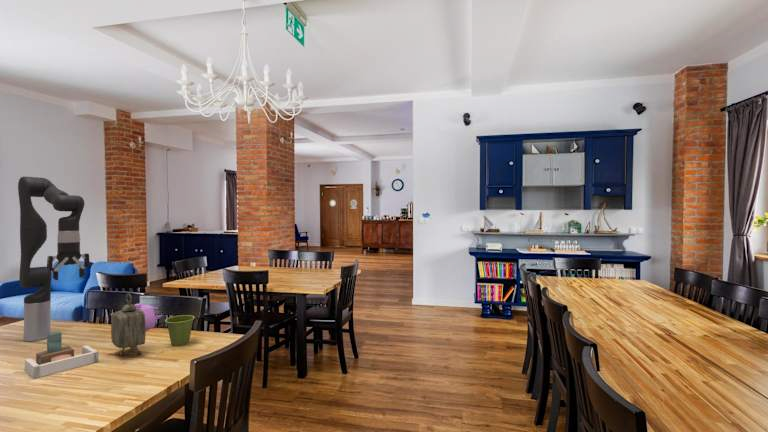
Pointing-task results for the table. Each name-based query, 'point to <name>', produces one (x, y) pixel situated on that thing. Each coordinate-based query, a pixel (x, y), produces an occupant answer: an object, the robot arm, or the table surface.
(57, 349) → the brown and teal block
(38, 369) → the frame
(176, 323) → the plant pot
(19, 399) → the table surface
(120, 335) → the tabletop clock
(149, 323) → the teakettle
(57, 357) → the pink rounded dome
